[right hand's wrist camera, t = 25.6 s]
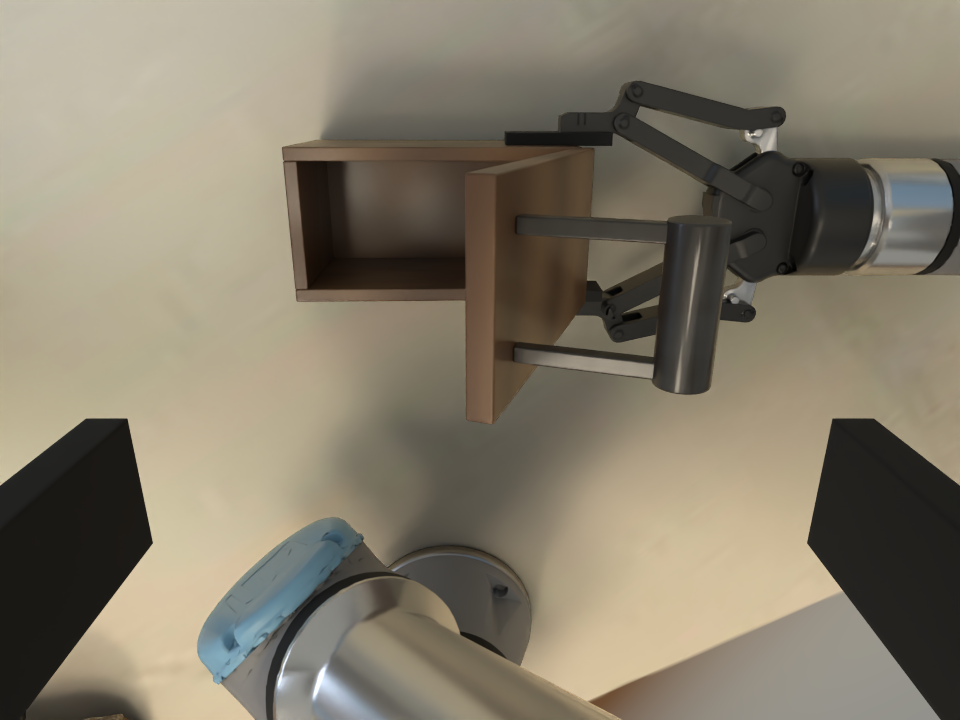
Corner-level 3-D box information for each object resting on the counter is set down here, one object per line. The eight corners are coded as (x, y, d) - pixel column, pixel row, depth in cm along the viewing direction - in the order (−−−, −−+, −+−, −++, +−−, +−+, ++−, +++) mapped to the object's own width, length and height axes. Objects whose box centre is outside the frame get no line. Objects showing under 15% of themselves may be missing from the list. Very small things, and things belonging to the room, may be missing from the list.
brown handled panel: (465, 421, 25) (703, 458, 23) (464, 172, 22) (740, 181, 20) (567, 301, 42) (713, 315, 39) (575, 147, 38) (735, 150, 36)
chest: (326, 266, 51) (296, 301, 41) (316, 139, 48) (281, 146, 38) (552, 264, 52) (574, 299, 42) (557, 140, 48) (583, 147, 39)
